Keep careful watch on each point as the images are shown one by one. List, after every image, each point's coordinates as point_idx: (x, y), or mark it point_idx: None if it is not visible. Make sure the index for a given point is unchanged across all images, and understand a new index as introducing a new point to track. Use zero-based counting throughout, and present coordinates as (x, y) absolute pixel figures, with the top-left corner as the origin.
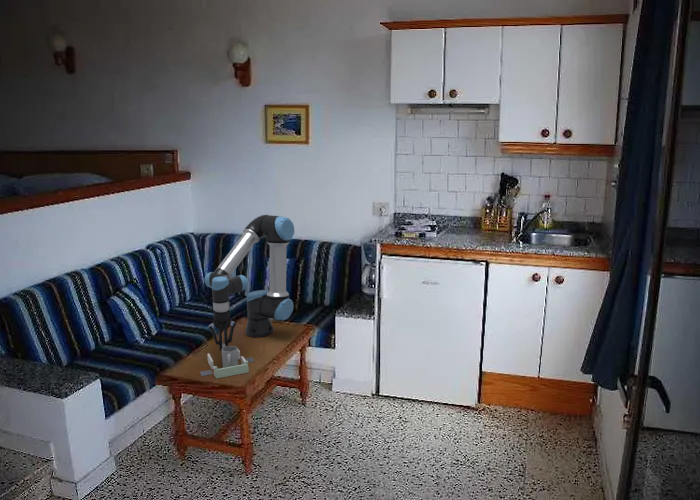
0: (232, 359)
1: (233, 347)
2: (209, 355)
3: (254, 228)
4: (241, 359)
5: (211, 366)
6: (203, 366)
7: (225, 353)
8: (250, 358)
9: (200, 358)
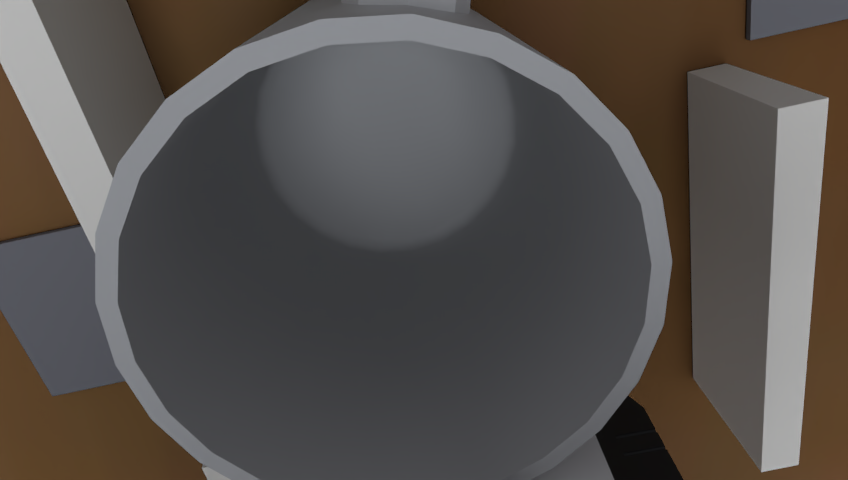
0: (315, 5)
1: (276, 444)
2: (779, 397)
3: None
4: None
5: (757, 74)
6: (820, 223)
7: (538, 52)
8: (68, 361)
9: (792, 474)
